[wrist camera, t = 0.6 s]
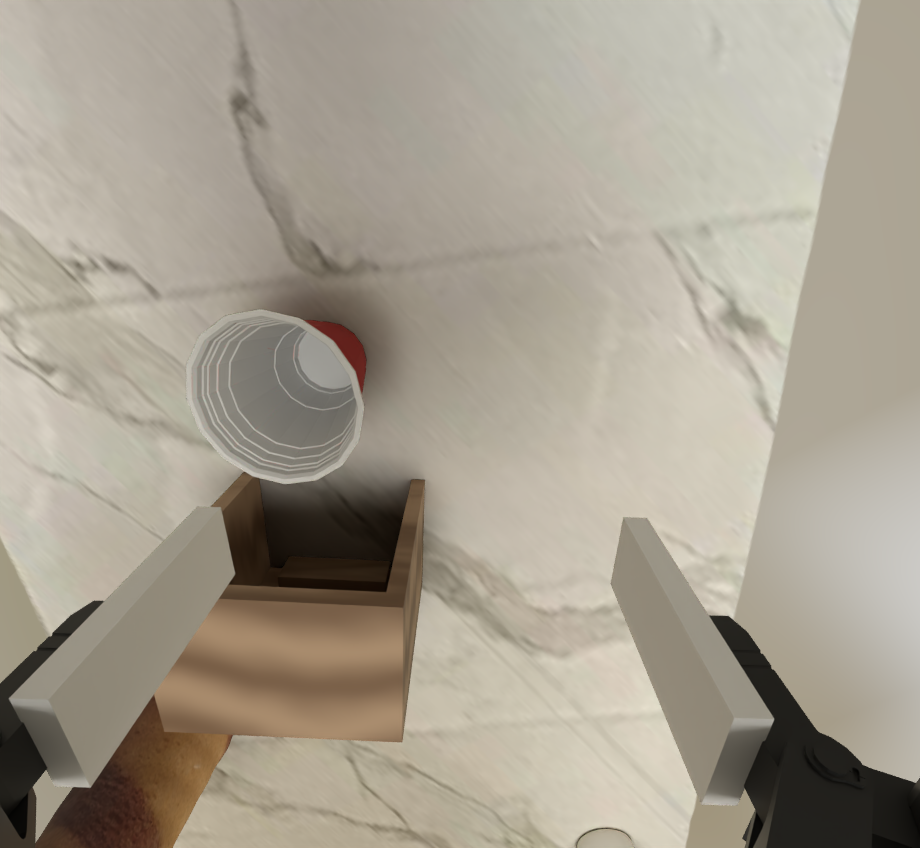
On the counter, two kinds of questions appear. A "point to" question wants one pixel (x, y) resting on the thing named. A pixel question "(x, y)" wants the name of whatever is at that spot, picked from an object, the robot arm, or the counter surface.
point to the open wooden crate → (301, 638)
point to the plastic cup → (278, 393)
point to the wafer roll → (139, 790)
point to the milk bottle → (605, 839)
